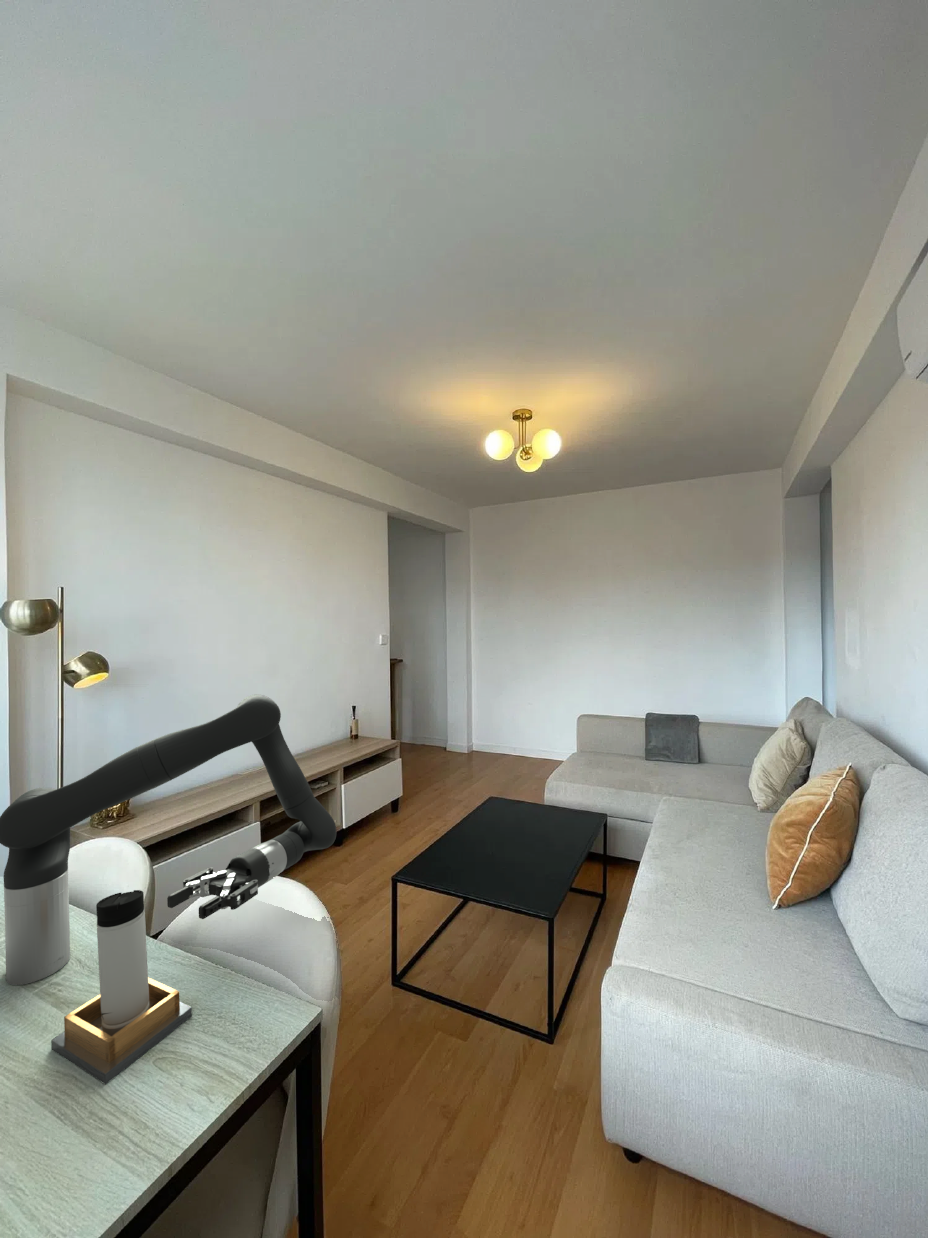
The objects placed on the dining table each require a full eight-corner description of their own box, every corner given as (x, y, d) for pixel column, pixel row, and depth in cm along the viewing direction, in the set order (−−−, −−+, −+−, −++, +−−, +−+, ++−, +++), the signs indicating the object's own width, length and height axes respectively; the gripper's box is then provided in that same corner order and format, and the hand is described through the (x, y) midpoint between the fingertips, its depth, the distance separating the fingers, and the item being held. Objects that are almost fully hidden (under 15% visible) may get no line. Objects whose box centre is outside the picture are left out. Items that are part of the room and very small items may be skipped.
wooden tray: (51, 1050, 75) (50, 1020, 75) (139, 991, 87) (138, 965, 87) (105, 1084, 69) (104, 1052, 69) (191, 1016, 81) (191, 988, 81)
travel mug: (93, 1043, 74) (86, 910, 74) (112, 1010, 81) (106, 888, 81) (140, 1032, 76) (133, 902, 76) (155, 1001, 82) (149, 881, 82)
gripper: (233, 842, 105) (157, 879, 90) (283, 853, 99) (210, 895, 84) (234, 877, 105) (159, 920, 90) (284, 891, 99) (211, 939, 84)
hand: (184, 908), depth 87 cm, fingers open, 8 cm apart
